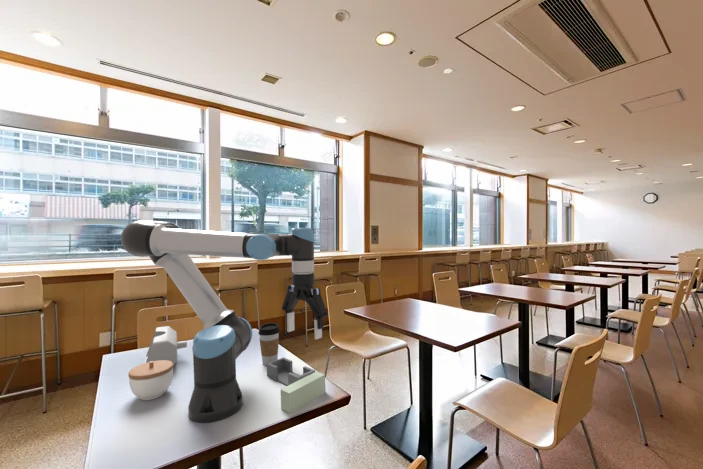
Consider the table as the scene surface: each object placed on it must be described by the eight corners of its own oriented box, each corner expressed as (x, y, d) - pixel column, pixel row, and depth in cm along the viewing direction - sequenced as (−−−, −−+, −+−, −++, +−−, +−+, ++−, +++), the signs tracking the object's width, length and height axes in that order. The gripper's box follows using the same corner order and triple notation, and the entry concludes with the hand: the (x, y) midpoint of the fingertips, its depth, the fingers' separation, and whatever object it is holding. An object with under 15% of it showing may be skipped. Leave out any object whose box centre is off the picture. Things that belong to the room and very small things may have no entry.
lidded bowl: (179, 394, 107) (178, 360, 107) (134, 409, 98) (133, 373, 98) (167, 382, 116) (166, 351, 116) (125, 395, 107) (124, 362, 107)
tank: (188, 369, 127) (187, 337, 127) (139, 378, 120) (138, 345, 120) (186, 349, 149) (185, 322, 149) (145, 356, 142) (144, 328, 142)
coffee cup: (283, 358, 135) (282, 322, 135) (276, 367, 126) (275, 328, 126) (263, 358, 136) (262, 322, 136) (255, 366, 127) (254, 328, 127)
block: (289, 413, 94) (289, 393, 94) (281, 409, 96) (280, 389, 96) (325, 392, 105) (325, 374, 105) (316, 389, 108) (316, 371, 108)
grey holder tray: (298, 391, 106) (298, 377, 106) (266, 375, 119) (266, 363, 119) (315, 383, 112) (315, 370, 112) (283, 369, 124) (283, 357, 124)
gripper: (337, 274, 106) (338, 338, 106) (287, 269, 121) (288, 325, 121) (321, 276, 100) (322, 345, 100) (271, 271, 115) (272, 330, 116)
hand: (304, 334), depth 111 cm, fingers open, 13 cm apart
